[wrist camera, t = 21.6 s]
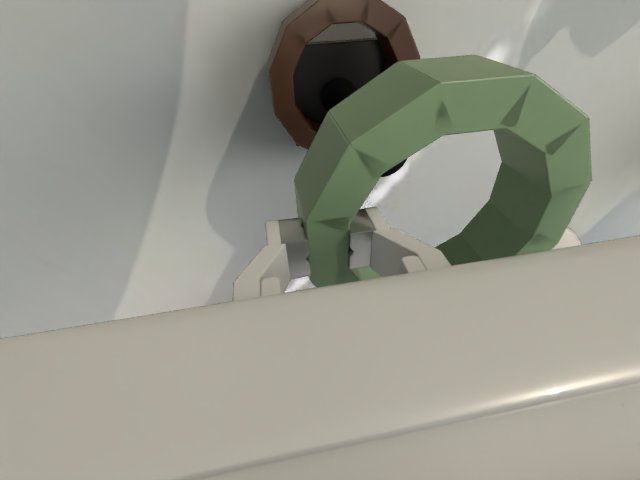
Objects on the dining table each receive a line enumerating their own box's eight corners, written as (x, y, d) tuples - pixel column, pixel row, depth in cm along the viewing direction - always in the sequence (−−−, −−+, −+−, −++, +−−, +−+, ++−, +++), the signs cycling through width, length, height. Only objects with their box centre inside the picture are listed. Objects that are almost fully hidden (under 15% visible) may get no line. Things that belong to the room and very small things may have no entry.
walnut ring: (396, 135, 31) (409, 149, 29) (278, 149, 30) (281, 164, 28) (411, -13, 24) (429, -12, 22) (258, -3, 23) (260, -1, 21)
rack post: (377, 133, 32) (438, 204, 22) (295, 142, 31) (319, 220, 21) (384, 37, 27) (466, 71, 17) (286, 44, 26) (312, 85, 16)
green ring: (491, 262, 20) (527, 303, 17) (304, 292, 18) (314, 342, 16) (575, 46, 13) (656, 62, 10) (283, 69, 11) (295, 95, 9)
